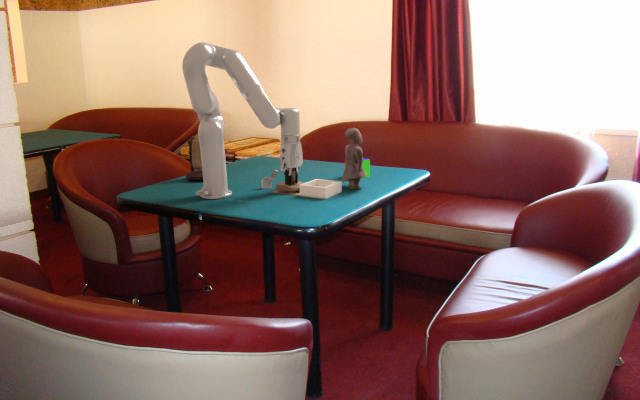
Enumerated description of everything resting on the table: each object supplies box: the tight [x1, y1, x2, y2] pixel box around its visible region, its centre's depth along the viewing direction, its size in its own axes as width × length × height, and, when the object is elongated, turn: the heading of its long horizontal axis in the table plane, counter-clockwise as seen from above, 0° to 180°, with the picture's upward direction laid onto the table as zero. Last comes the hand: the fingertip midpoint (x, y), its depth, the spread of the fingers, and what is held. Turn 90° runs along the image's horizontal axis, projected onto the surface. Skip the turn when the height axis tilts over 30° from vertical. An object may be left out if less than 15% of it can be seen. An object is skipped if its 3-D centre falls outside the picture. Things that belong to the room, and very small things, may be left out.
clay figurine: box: [341, 127, 367, 190], centre depth 230 cm, size 13×10×25 cm
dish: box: [299, 178, 343, 200], centre depth 223 cm, size 12×12×5 cm
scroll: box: [185, 135, 203, 182], centre depth 260 cm, size 15×15×20 cm
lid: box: [275, 169, 306, 191], centre depth 230 cm, size 13×13×7 cm
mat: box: [270, 189, 300, 197], centre depth 231 cm, size 14×14×1 cm
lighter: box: [260, 169, 279, 190], centre depth 237 cm, size 7×2×8 cm, turn 116°
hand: (291, 183), depth 231 cm, fingers closed on lid, 3 cm apart
